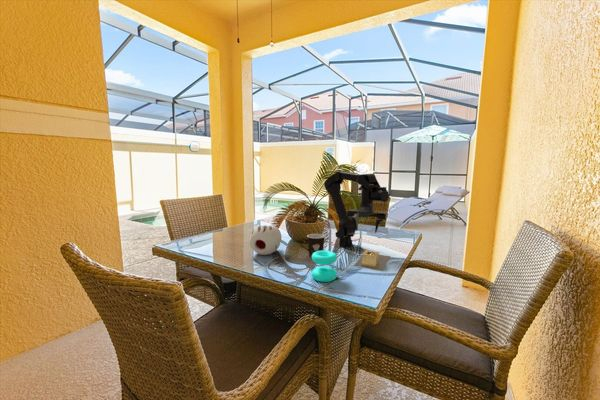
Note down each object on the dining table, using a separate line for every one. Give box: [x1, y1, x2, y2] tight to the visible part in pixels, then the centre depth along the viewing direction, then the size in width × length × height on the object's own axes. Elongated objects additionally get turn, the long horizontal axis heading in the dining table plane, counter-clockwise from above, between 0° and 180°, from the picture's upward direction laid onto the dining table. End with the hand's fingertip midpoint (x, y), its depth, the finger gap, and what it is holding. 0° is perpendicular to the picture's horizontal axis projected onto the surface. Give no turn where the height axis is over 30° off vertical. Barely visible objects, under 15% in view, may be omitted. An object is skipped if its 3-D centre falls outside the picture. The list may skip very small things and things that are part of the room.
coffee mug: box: [298, 233, 325, 258], centre depth 135 cm, size 12×9×10 cm
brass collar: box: [361, 250, 380, 268], centre depth 119 cm, size 6×6×5 cm
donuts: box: [311, 250, 338, 283], centre depth 109 cm, size 10×10×10 cm
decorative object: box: [249, 225, 282, 256], centre depth 139 cm, size 15×19×15 cm
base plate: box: [353, 254, 391, 271], centre depth 124 cm, size 20×12×6 cm, turn 153°
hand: (366, 231), depth 135 cm, fingers open, 9 cm apart
